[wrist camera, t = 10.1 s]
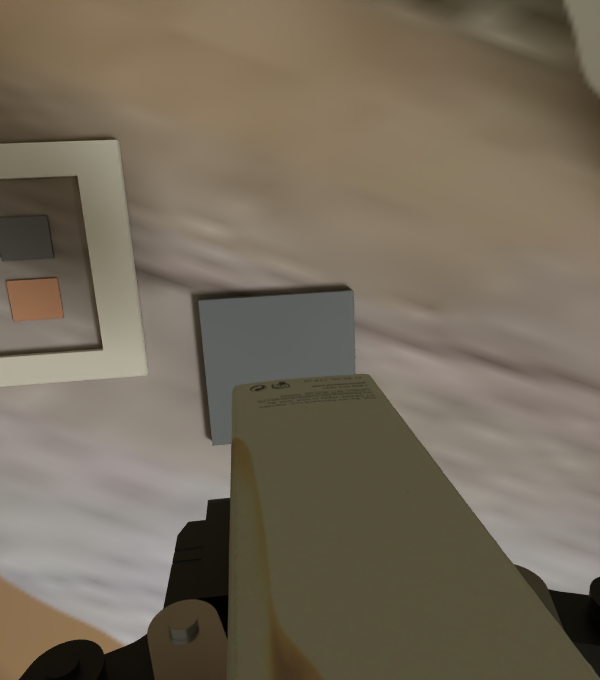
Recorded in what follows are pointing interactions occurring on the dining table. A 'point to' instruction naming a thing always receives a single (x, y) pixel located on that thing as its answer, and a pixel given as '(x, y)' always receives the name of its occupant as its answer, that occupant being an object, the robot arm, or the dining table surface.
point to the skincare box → (366, 552)
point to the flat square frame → (105, 258)
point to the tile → (272, 343)
